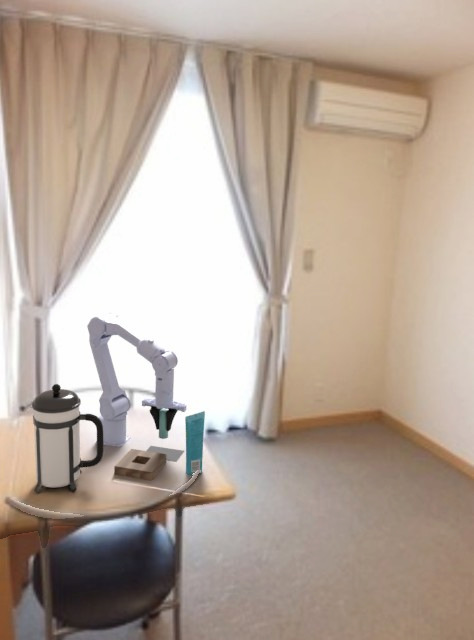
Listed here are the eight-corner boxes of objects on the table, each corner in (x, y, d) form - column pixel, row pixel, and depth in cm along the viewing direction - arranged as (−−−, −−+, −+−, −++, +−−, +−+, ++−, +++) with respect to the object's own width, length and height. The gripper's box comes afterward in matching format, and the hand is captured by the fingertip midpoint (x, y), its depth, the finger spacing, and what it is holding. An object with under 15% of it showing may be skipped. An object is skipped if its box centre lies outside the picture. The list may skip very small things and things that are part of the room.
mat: (141, 457, 164) (141, 456, 164) (150, 446, 171) (150, 445, 171) (176, 462, 161) (176, 461, 161) (184, 451, 169) (184, 450, 169)
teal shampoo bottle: (196, 465, 160) (198, 408, 156) (207, 471, 157) (209, 412, 153) (179, 474, 154) (181, 414, 151) (190, 479, 151) (192, 419, 148)
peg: (157, 438, 164) (157, 411, 162) (160, 434, 167) (161, 408, 165) (166, 439, 163) (166, 413, 161) (169, 435, 166) (169, 409, 164)
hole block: (114, 475, 152) (114, 466, 151) (131, 457, 163) (131, 448, 163) (151, 481, 149) (151, 472, 149) (166, 462, 161) (166, 454, 160)
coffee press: (50, 504, 135) (47, 398, 129) (21, 482, 145) (16, 383, 139) (105, 481, 148) (104, 384, 142) (75, 462, 158) (73, 370, 152)
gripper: (138, 390, 159) (137, 430, 162) (181, 396, 156) (180, 437, 159) (147, 383, 166) (146, 422, 169) (189, 389, 163) (187, 428, 166)
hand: (163, 429), depth 164 cm, fingers closed on peg, 3 cm apart
